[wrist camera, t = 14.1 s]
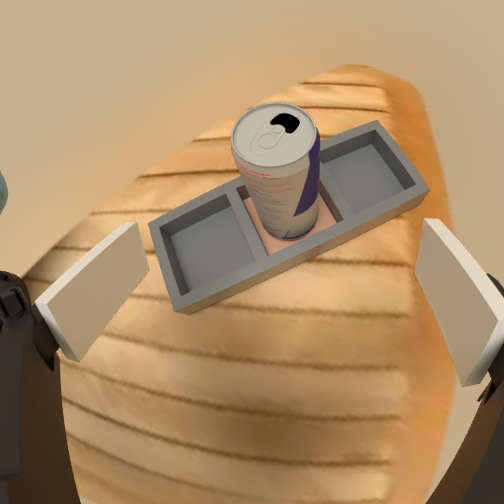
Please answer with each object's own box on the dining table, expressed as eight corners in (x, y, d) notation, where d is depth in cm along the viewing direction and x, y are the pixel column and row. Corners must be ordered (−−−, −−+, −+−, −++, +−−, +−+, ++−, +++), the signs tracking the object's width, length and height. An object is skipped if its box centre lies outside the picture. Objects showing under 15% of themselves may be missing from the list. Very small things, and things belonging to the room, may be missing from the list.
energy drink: (329, 209, 26) (338, 123, 15) (294, 253, 26) (281, 187, 15) (283, 179, 28) (265, 89, 17) (248, 220, 28) (208, 143, 16)
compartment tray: (188, 314, 27) (174, 311, 24) (162, 234, 30) (147, 223, 27) (420, 204, 26) (430, 189, 23) (372, 137, 29) (377, 119, 26)
